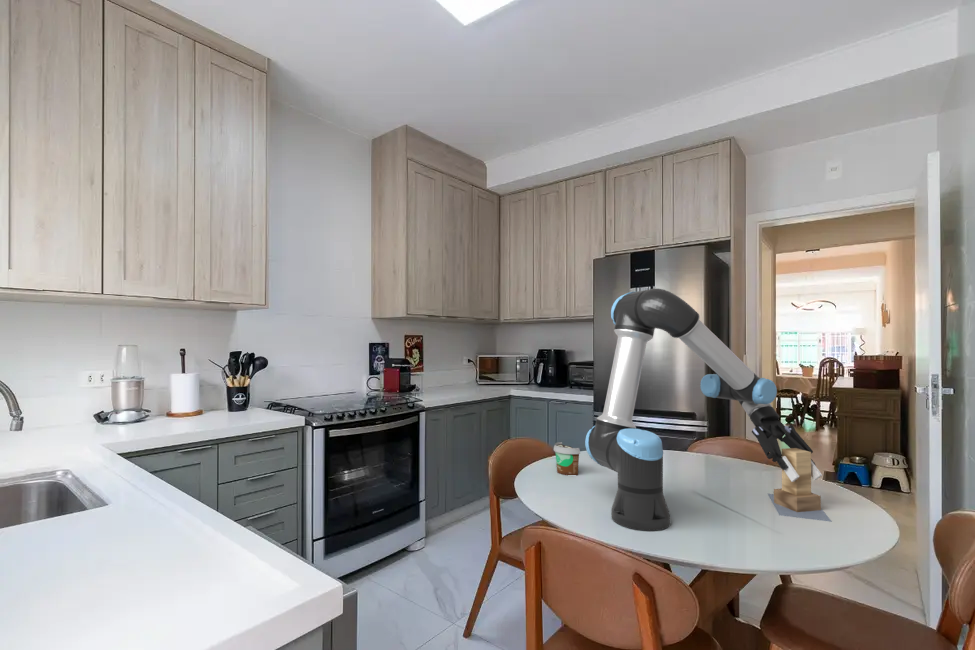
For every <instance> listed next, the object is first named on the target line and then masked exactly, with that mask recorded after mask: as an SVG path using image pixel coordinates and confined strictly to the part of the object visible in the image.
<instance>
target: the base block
mask: <svg viewBox="0 0 975 650" xmlns="http://www.w3.org/2000/svg"><path fill="white" fill-rule="evenodd" d="M773 494H774V503H776V504H778V505H781V506H783V507H786V508H788V509H790V510H793V511H795V512H806V511H817V510H821V509H822V501H821V500H822V499H821V495H819V494H816V493H813V492H811V495H794V494H791V493H789V492H786V491H784V490H782V487H780V488H773Z"/></svg>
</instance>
